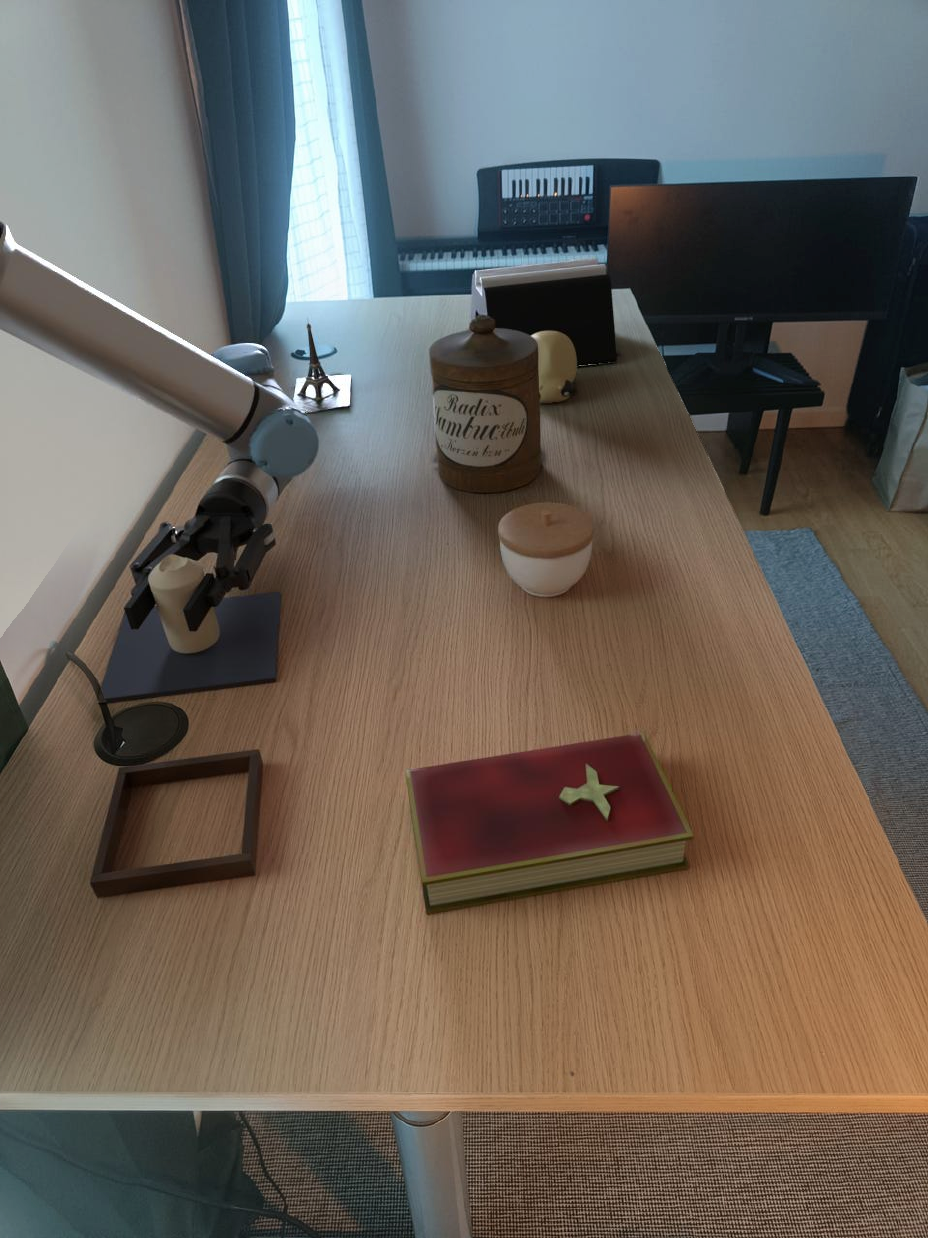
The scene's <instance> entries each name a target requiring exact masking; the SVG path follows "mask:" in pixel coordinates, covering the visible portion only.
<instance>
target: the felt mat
mask: <svg viewBox="0 0 928 1238" xmlns="http://www.w3.org/2000/svg"><path fill="white" fill-rule="evenodd" d="M281 607H282V592H281V591H280V590H278V591H268V592H261V593H252V594H245V595H244V594H243V595H235V596H227V597H224V598H223V599H222V601H221V603H220V604H219V605H218V606H217V607H213V608H214V611H215V615H216V618H217V622H218V626H219V630H220V636H219V638H218V640H217V641H216V642H215V643H214V644H213V645H212V646H210V647H209V648H207V649H205V650H202V651H199V652H195V653H180V652H177V651H175V650H173V649H172V648H171V646H170V644H169V642H168V639H167V636H166V633H165V630H164V627H163V624H162V621H161V618H160V615H159V612H158V609H157V606H156V605H155V606H154V608H153V609H152V610H151V612H150V613H149V615H148V616H147V618H146V619H145V620H144V622H143V623H142V625H141V626H140V628H139V629H131V627H130V624H129V622H128V619H127V616H126V613H125V611H124V612H123V616H122V619H121V622H120V625H119V628H118V631H117V635H116V638H115V641H114V645H113V647H112V651H111V654H110V657H109V661H108V664H107V666H106V670H105V674H104V677H103V679H102V683H101V686H100V689H102V692H103V695H104V698H105V700H106V702H107V703H106V704H112V703H118V702H126V701H134V700H142V699H150V698H158V697H166V696H173V695H174V696H175V695H181V694H182V695H183V694H189V693H196V692H197V693H199V692H206V691H213V690H222V689H229V688H238V687H243V686H244V687H245V686H251V685H261V684H267V683H268V684H269V683H275V682H277V671H278V657H279V656H278V655H279V638H280V636H279V635H280V625H281V624H280V623H281V622H280V621H281Z"/></svg>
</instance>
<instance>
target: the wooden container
mask: <svg viewBox="0 0 928 1238" xmlns="http://www.w3.org/2000/svg"><path fill="white" fill-rule="evenodd" d="M428 359H429V361H428V363H429V370H430V374H431V384H432V387H431V389H432V404H433V405H432V406H433V422H434V423H433V425H434V439H435V441H434V442H435V449H436V461H437V463H436V464H437V472H438V476H439V478H440V479H441V480H442V481H443V482H444V483H445V484H446V485H448V486H450V487H452V488H455V489H457V490H460V491H465V492H469V493H480V494H490V493H491V494H492V493H502V492H507V491H511V490H514V489H518V488H520V487H523V486H525V485H527V484H529V483H530V482H532V481H533V480H534V479H536V477H537V476H538V475H539V474H540V472H541V443H542V442H541V438H542V437H541V436H542V435H541V403H540V398H539V371H538V344H537V341H536V340H535V339H534V338H533V337H532V336H530V335H528V334H525V333H523V332H519V331H515V330H510V329H499V328H495V321H494V319H492V318H490V317H489V316H487V315H478V316H476V317H475V318H474V319H472V320H471V319H470V320H469V323H468V329H467V330H462V331H458V332H455V333H451V334H448V335H445V336H443V337H441V338H438V339H437V340H435V341H434V342H433V343H432V344H431V345H430V346H429V348H428Z"/></svg>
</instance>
